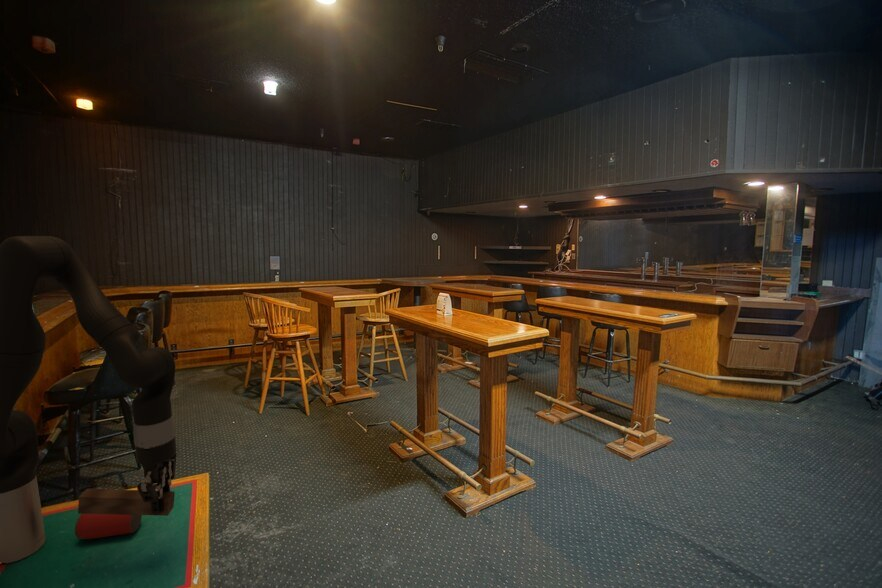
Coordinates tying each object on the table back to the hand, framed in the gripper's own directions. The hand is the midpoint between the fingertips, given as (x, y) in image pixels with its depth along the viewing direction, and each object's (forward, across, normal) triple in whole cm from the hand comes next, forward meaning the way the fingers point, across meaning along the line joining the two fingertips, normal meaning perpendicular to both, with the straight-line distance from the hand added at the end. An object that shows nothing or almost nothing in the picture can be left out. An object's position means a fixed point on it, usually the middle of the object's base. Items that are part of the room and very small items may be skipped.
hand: (161, 507), depth 98 cm
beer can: (+9, -10, -10) cm, 17 cm away
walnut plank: (0, 0, -7) cm, 7 cm away
